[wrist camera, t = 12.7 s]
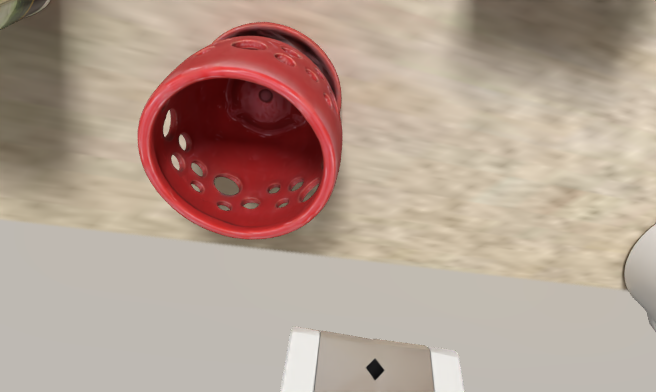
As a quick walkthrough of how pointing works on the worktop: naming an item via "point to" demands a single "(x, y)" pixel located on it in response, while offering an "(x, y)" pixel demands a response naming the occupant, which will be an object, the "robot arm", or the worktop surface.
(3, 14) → the coffee can
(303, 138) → the plant pot
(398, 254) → the worktop surface
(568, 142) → the worktop surface
